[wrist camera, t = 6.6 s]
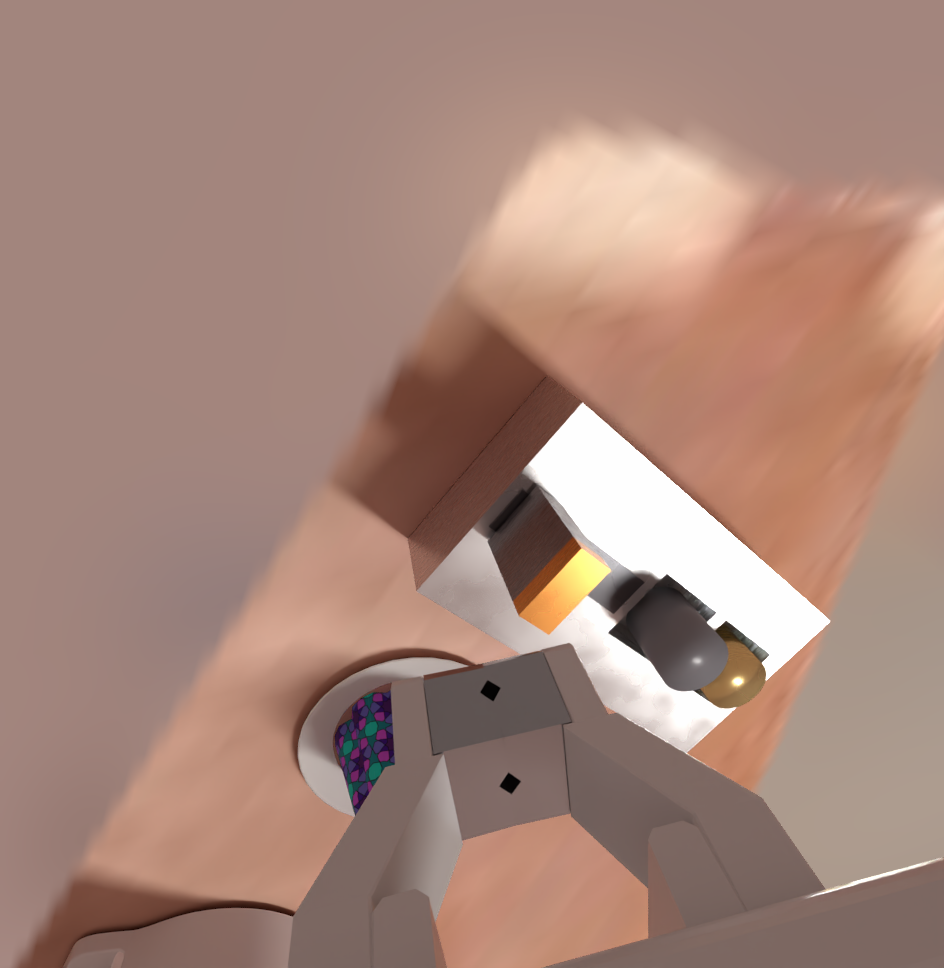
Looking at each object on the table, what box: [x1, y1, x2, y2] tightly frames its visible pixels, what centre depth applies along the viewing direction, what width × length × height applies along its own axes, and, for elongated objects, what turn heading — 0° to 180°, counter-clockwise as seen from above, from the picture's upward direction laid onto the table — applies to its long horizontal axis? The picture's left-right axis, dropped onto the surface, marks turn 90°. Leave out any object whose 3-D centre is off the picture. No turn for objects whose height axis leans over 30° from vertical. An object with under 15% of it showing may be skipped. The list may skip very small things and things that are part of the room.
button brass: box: [700, 622, 767, 709], centre depth 29 cm, size 3×3×4 cm
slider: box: [487, 486, 611, 635], centre depth 21 cm, size 3×1×5 cm, turn 140°
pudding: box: [298, 658, 468, 817], centre depth 31 cm, size 12×12×5 cm
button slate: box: [626, 586, 728, 692], centre depth 26 cm, size 3×3×4 cm
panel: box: [408, 376, 830, 753], centre depth 29 cm, size 10×18×5 cm, turn 49°
